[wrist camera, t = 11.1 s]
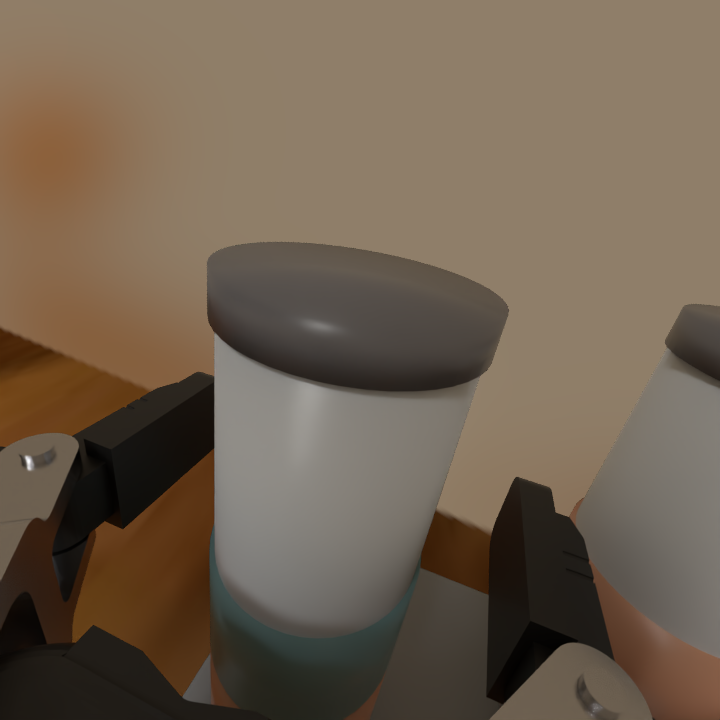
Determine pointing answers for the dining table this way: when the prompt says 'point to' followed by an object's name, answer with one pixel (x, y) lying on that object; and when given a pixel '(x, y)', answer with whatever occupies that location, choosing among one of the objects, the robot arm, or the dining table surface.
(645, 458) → the twin tube
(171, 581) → the dining table surface
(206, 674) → the slate card
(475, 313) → the slim tube
